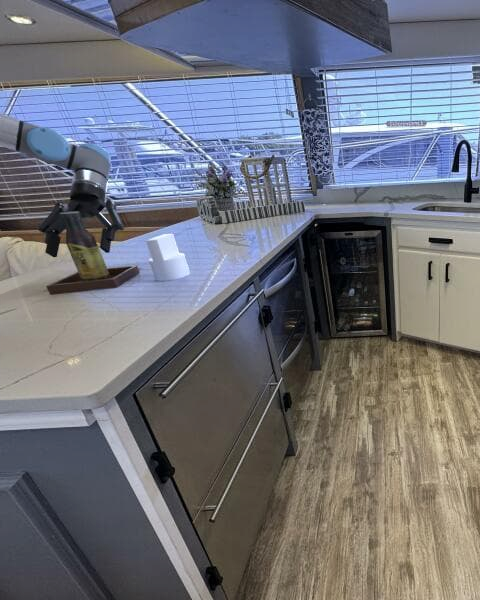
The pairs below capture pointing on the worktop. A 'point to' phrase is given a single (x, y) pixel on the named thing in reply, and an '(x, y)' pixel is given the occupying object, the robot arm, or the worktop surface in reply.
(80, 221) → the sauce bottle
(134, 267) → the tray
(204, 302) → the worktop surface
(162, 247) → the cylinder with rectangular tab
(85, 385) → the worktop surface
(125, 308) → the worktop surface
